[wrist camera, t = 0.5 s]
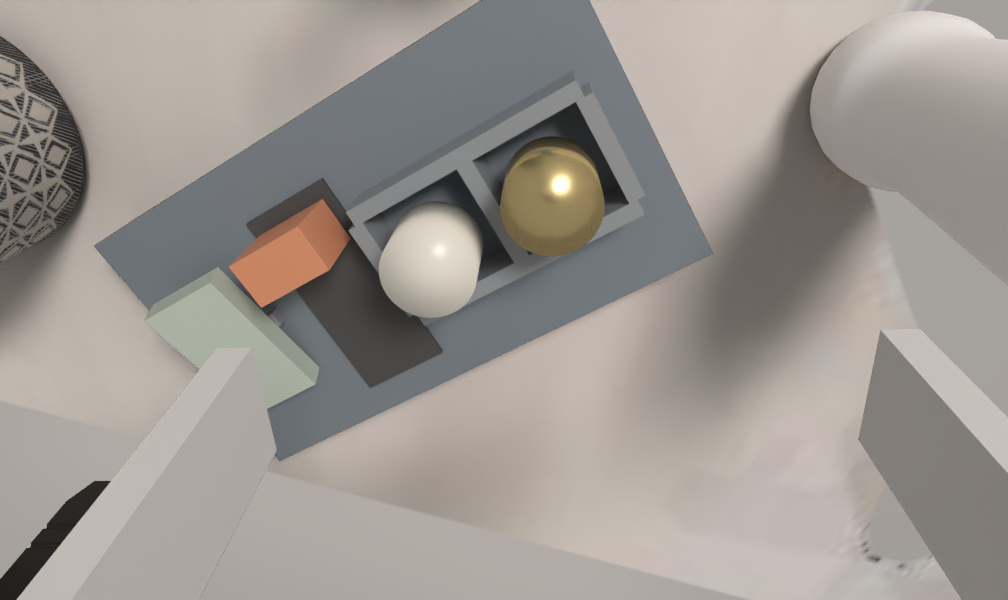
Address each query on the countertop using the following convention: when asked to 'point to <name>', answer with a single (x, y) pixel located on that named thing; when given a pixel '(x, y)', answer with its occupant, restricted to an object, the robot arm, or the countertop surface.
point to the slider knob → (291, 254)
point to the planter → (34, 155)
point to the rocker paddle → (232, 333)
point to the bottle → (924, 122)
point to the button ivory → (432, 260)
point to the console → (422, 178)
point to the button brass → (552, 197)
